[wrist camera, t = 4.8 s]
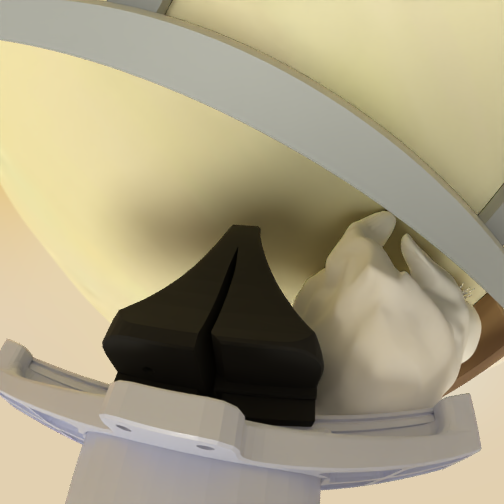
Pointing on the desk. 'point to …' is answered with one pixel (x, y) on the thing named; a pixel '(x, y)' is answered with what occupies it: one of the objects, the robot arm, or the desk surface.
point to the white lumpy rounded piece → (385, 324)
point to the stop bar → (484, 341)
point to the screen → (270, 113)
